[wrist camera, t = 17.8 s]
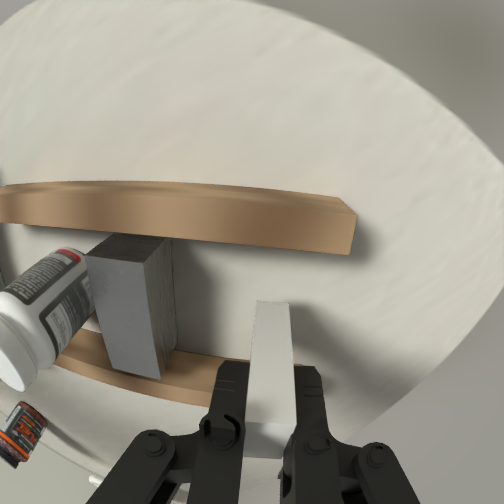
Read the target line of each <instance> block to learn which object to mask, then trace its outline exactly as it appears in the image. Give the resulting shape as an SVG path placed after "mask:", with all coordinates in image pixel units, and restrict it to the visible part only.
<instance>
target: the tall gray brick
mask: <svg viewBox="0 0 504 504" xmlns="http://www.w3.org/2000/svg"><path fill="white" fill-rule="evenodd" d="M84 256H85V262H86V268H87V273H88V278H89V283H90V288H91V292H92V297H93V301H94V305H95V309H96V313H97V317H98V321H99V325H100V328H101V332H102V335H103V339H104V342H105V345H106V349H107V352H108V355H109V358H110V361H111V364H112V367H113V368H114V369H118V370H122V371H125V372H129V373H133V374H137V375H141V376H145V377H149V378H154V379H158V380H161V379H162V377H163V374H164V372H165V369H166V367H167V364H168V362H169V359H170V357H171V355H172V352H173V350H174V347H175V345H176V342H177V340H178V338H177V328H176V317H175V304H174V290H173V273H172V249H171V237H162V236H151V235H140V234H130V233H119V232H115V233H114V234H112V235H111V236H109V237H108V238H107V239H105V240H104V241H103V242H101V243H100V244H99V245H97V246H96V247H95V248H93V249H92V250H91V251H89V252H88V253H87V254H85V255H84Z"/></svg>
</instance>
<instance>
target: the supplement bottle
mask: <svg viewBox="0 0 504 504" xmlns="http://www.w3.org/2000/svg"><path fill="white" fill-rule="evenodd" d="M46 427H47V424H46V421H45V420H44V419H43V417H42V416H41V415H40V414H39V413H38V412H37V411H35V410H34V409H33V408H32V407H31V406H29V405H28V404H26V403H24V402H21V401H20V402H19V403H18V404H17V405H16V407H15V408H14V410H13V411H12V413H11V414H10V416H9V417H8V419H7V420H6V422H5V423H4V425H3V426H2V428H1V429H0V457H1V458H2V459H3V460H4V461H5V462H7V463H8V464H9V465H10V466H11V467H13V468H14V469H16V468H17V466H18V463H19V462H21V461H22V462H26V461H27V460H28V459H29V457H30V455H31V454H32V452H33V450H34V448H35V446H36V444H37V443H38V441H39V439H40V438H41V436H42V434H43V432H44V431H45V429H46Z"/></svg>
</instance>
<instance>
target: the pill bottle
mask: <svg viewBox="0 0 504 504" xmlns="http://www.w3.org/2000/svg"><path fill="white" fill-rule="evenodd" d="M95 310H96V309H95V305H94V301H93V297H92V292H91V288H90V283H89V278H88V273H87V268H86V262H85V256H84V255H82V254H81V253H80V252H78V251H76V250H74V249H71V248H67V247H63V248H59V249H56V250H55V251H53V252H51V253H50V254H48V255H47V256H46V257H44V258H43V259H41V260H40V261H39V262H37V263H36V264H35V265H33V266H32V267H31V268H29V269H28V270H27V271H25V272H24V273H23V274H21V275H20V276H19V277H18V278H16V279H15V280H14V281H13V282H11V283H10V284H9V285H8V286H6V287H5V288H4V289H3V290H1V291H0V378H1V379H2V380H3V381H4V382H5V383H6V384H8V385H9V386H10V387H12V388H13V389H15V390H17V391H20V392H24V391H25V390H26V389H27V388H28V386H29V385H30V384H31V383H32V381H33V380H34V379H35V378H36V374H37V372H38V370H44V369H47V368H49V367H50V366H51V365H52V364H53V363H54V362H55V361H56V359H57V358H58V356H59V355H60V354H61V352H62V351H63V350H64V348H65V347H66V346H67V345H68V343H69V342H70V341H71V339H72V338H73V337H74V336H75V334H76V333H77V332H78V330H79V329H80V328H81V327H82V326H83V324H84V323H85V322H86V321H87V319H88V318H89V317H90V316H91V315H92V313H93V312H94V311H95Z"/></svg>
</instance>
